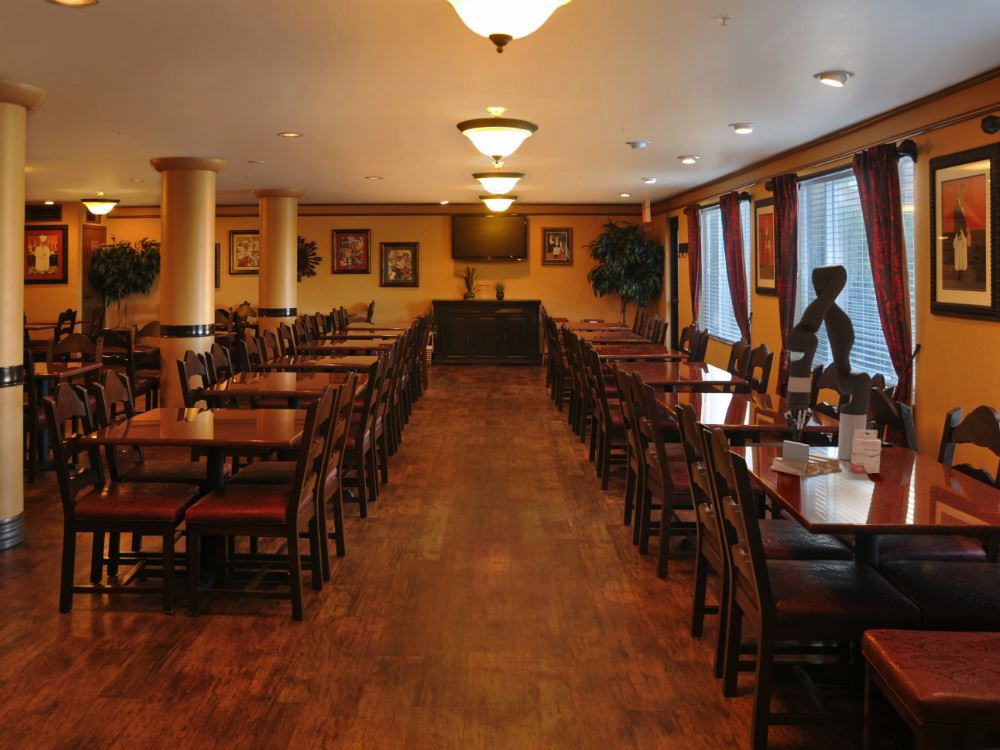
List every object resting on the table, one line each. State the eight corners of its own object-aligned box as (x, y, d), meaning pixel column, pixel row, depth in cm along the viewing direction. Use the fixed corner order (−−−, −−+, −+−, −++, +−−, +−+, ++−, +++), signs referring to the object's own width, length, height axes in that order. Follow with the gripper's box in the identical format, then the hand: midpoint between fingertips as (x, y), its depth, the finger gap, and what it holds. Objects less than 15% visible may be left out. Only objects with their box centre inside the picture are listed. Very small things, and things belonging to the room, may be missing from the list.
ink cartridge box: (854, 473, 320) (856, 431, 319) (850, 470, 325) (852, 428, 324) (879, 474, 319) (882, 432, 318) (875, 471, 324) (877, 429, 323)
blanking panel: (785, 465, 325) (786, 440, 324) (808, 471, 317) (809, 445, 316) (782, 466, 325) (783, 440, 324) (805, 471, 316) (806, 445, 315)
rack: (809, 463, 335) (809, 452, 335) (841, 470, 323) (842, 459, 323) (770, 468, 324) (771, 457, 324) (802, 476, 313) (803, 464, 312)
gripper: (803, 388, 325) (800, 436, 326) (777, 389, 318) (774, 439, 319) (820, 390, 318) (818, 439, 320) (794, 392, 311) (792, 442, 313)
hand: (796, 439), depth 320 cm, fingers closed
